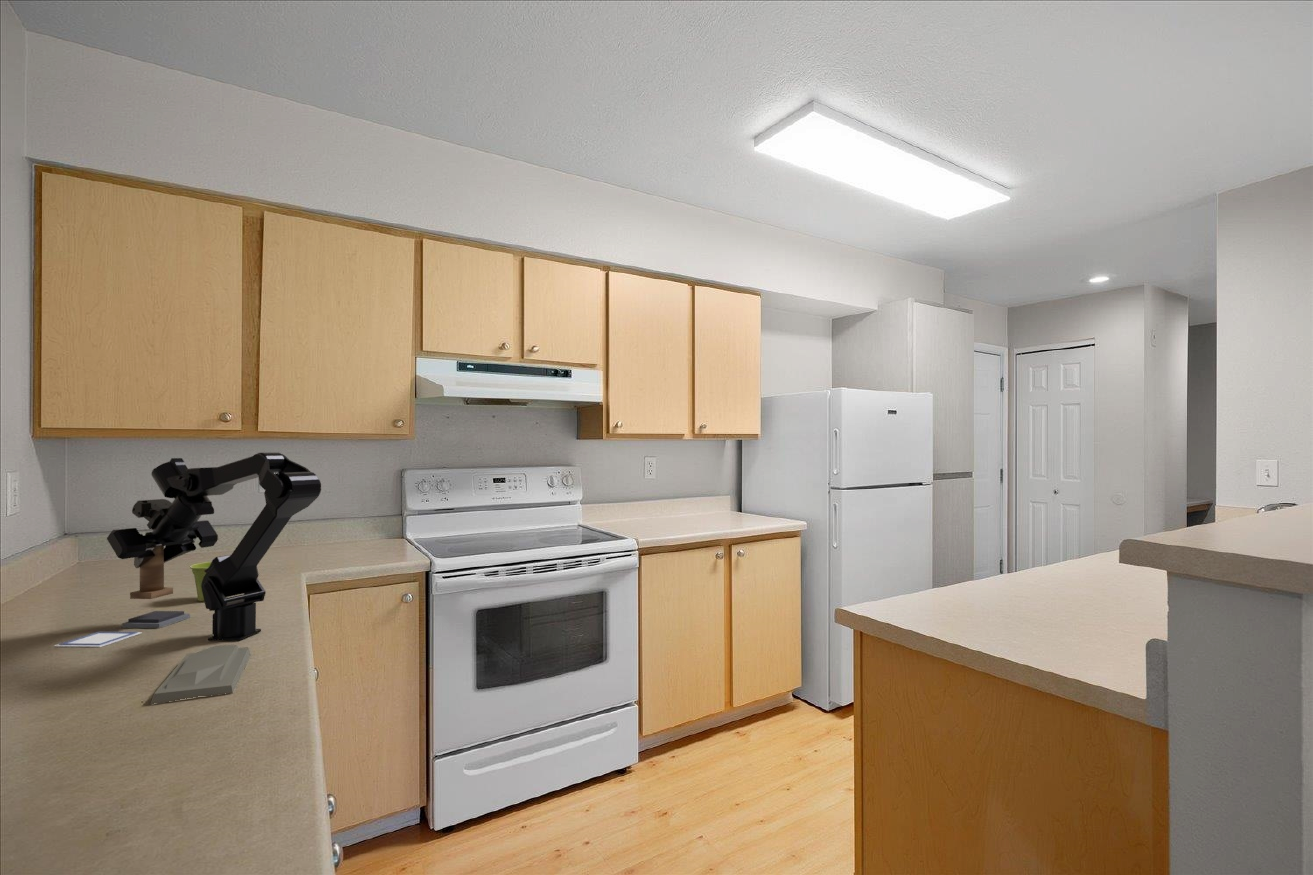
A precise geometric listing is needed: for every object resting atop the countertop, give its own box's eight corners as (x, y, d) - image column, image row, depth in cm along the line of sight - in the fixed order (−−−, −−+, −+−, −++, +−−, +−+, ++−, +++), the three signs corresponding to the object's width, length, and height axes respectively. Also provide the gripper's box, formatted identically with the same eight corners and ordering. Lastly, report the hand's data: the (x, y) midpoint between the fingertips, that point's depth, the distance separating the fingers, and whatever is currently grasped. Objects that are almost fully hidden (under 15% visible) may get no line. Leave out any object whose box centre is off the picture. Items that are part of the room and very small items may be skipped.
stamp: (173, 593, 133) (172, 536, 134) (151, 598, 129) (150, 539, 129) (152, 593, 134) (152, 536, 134) (130, 598, 129) (130, 539, 130)
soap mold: (148, 709, 89) (148, 685, 89) (183, 666, 107) (183, 645, 107) (233, 697, 94) (233, 673, 94) (253, 657, 112) (253, 637, 112)
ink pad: (189, 617, 136) (189, 610, 136) (159, 628, 128) (159, 620, 128) (154, 617, 137) (154, 610, 137) (121, 627, 129) (122, 619, 129)
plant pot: (212, 604, 148) (212, 568, 148) (179, 602, 150) (180, 566, 150) (245, 595, 157) (245, 561, 157) (214, 593, 159) (214, 560, 159)
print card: (141, 633, 125) (141, 631, 125) (99, 647, 116) (99, 645, 116) (99, 632, 125) (99, 630, 125) (53, 646, 116) (53, 644, 116)
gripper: (210, 484, 139) (176, 531, 143) (113, 489, 122) (77, 542, 125) (234, 520, 136) (199, 567, 140) (139, 530, 119) (102, 584, 122)
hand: (147, 564), depth 132 cm, fingers closed on stamp, 4 cm apart
